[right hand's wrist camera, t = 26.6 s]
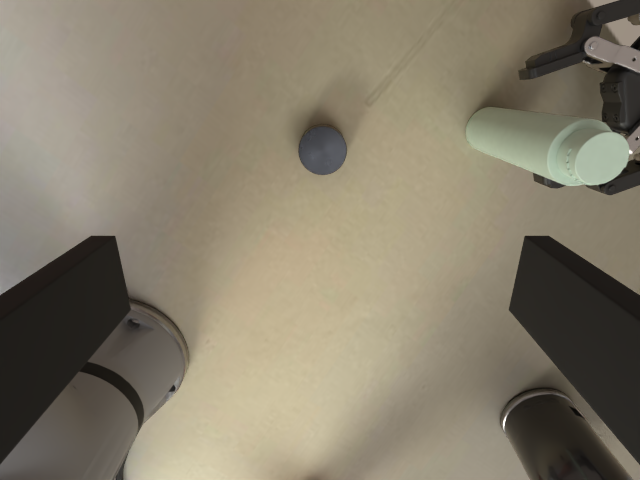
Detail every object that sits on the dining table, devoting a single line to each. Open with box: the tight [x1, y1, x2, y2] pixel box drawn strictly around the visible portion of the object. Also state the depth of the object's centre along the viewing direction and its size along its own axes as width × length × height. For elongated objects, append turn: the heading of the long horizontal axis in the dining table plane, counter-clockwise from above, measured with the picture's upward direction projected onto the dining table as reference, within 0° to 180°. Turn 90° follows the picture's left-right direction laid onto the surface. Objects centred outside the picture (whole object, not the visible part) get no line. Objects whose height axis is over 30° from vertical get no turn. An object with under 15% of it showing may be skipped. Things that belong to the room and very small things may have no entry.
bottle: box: [466, 107, 630, 186], centre depth 29 cm, size 4×4×16 cm
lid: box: [299, 124, 347, 175], centre depth 36 cm, size 4×4×2 cm
